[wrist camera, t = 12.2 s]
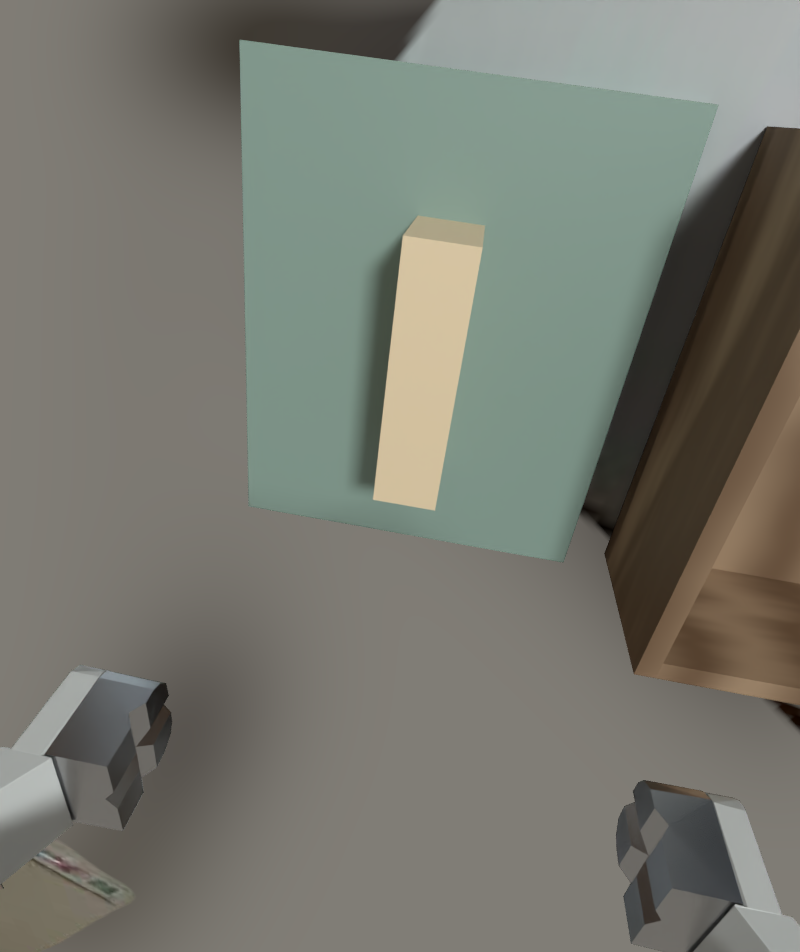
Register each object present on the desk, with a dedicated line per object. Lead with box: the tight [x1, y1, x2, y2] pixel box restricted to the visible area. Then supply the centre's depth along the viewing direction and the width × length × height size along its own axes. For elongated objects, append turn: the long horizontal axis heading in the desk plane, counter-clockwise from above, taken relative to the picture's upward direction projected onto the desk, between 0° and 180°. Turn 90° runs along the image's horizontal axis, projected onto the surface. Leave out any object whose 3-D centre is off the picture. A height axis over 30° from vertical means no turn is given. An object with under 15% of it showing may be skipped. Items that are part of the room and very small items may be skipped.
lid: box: [240, 40, 718, 562], centre depth 28 cm, size 19×23×6 cm
